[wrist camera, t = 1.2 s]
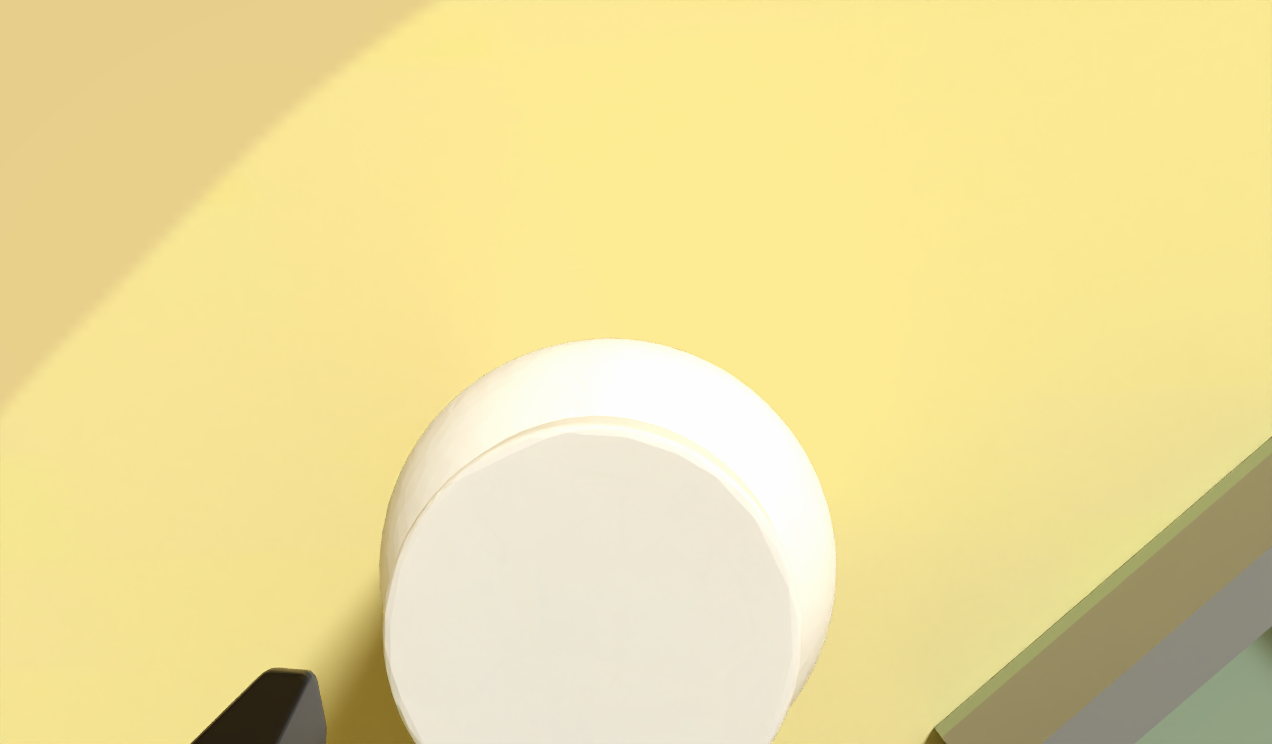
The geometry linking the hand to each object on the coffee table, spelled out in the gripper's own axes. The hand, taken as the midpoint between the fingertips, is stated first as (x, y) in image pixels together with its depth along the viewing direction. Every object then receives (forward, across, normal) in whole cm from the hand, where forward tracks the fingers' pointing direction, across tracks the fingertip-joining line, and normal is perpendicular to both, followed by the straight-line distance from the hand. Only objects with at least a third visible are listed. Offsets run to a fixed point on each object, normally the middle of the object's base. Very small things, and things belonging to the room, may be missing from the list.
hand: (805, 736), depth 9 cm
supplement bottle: (+12, +2, +8) cm, 15 cm away
